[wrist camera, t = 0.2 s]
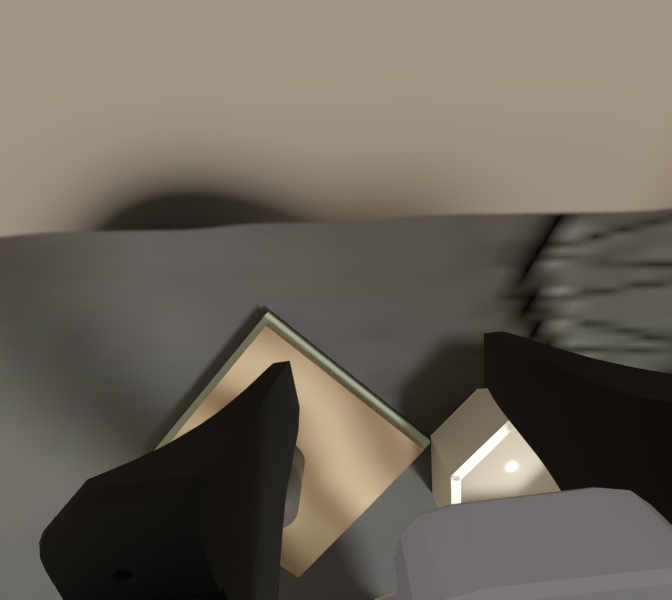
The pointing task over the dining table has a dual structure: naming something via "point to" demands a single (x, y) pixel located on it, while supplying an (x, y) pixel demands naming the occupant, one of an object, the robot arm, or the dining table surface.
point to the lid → (320, 447)
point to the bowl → (483, 456)
